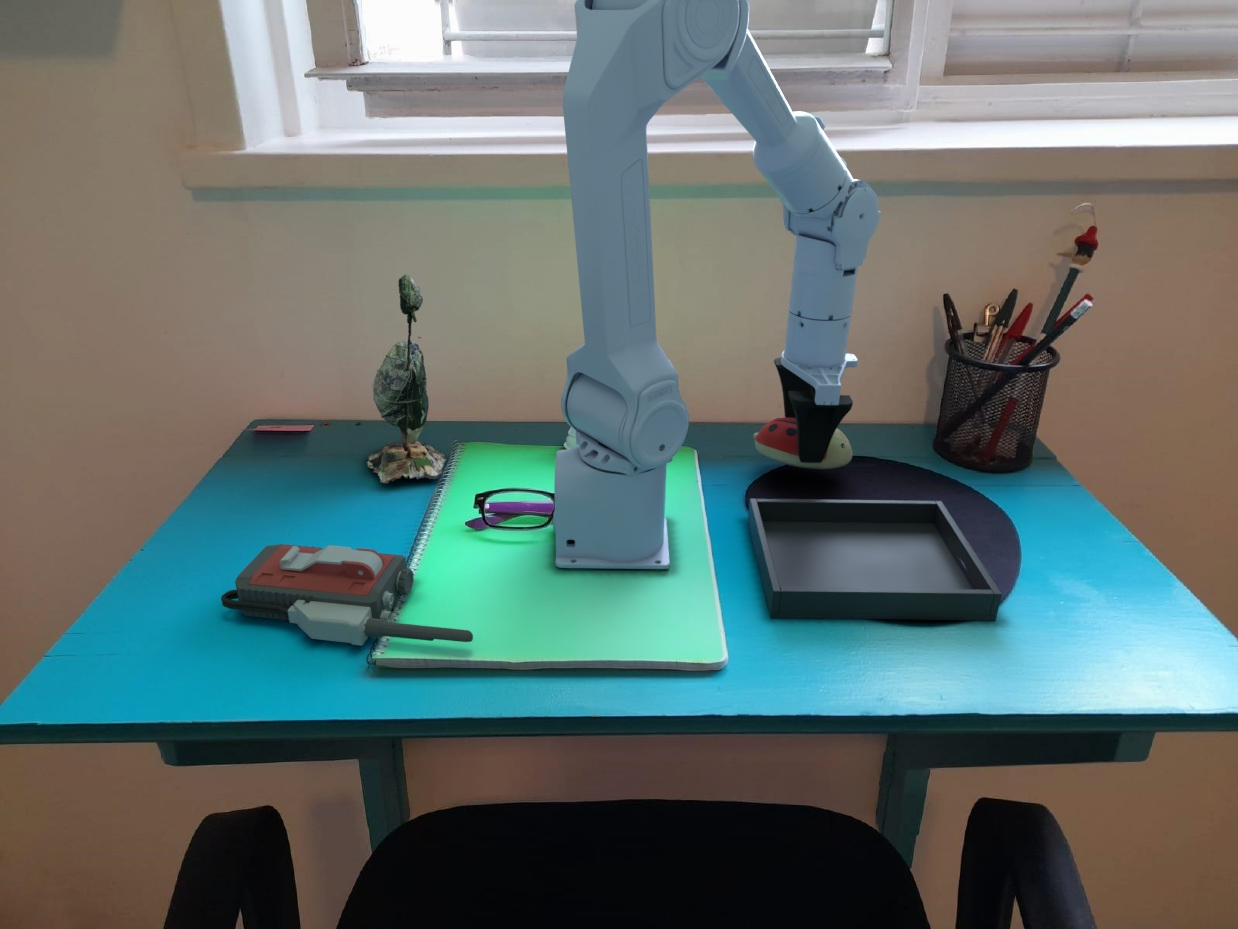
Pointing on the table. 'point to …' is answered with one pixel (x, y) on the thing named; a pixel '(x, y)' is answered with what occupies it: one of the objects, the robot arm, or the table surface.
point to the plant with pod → (405, 402)
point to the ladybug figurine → (782, 446)
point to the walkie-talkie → (331, 593)
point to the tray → (867, 561)
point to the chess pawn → (571, 439)
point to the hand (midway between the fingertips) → (803, 444)
